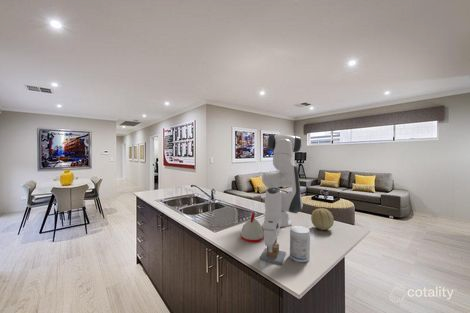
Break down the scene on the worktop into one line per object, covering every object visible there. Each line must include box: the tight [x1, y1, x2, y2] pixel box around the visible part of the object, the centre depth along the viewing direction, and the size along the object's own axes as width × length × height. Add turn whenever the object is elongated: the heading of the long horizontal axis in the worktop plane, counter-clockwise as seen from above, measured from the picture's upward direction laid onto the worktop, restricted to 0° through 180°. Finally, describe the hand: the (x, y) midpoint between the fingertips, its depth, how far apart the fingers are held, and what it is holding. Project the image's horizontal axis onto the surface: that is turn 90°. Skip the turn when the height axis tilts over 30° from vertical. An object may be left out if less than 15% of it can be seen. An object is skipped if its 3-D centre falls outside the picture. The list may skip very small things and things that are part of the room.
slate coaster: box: [259, 247, 287, 266], centre depth 102 cm, size 11×11×1 cm
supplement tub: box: [289, 225, 311, 263], centre depth 101 cm, size 10×10×15 cm
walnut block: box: [266, 242, 280, 258], centre depth 102 cm, size 5×5×5 cm
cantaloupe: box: [310, 206, 335, 231], centre depth 141 cm, size 15×15×15 cm
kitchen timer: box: [240, 212, 264, 243], centre depth 125 cm, size 14×14×15 cm
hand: (272, 247), depth 102 cm, fingers open, 8 cm apart
